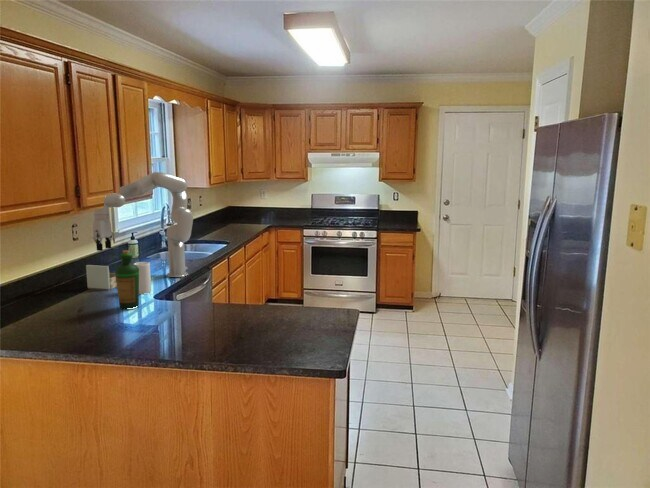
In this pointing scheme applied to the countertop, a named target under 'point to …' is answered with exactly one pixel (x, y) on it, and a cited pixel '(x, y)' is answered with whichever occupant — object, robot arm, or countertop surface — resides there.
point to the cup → (144, 277)
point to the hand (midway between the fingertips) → (104, 249)
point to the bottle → (127, 282)
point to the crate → (112, 280)
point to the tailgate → (98, 277)
